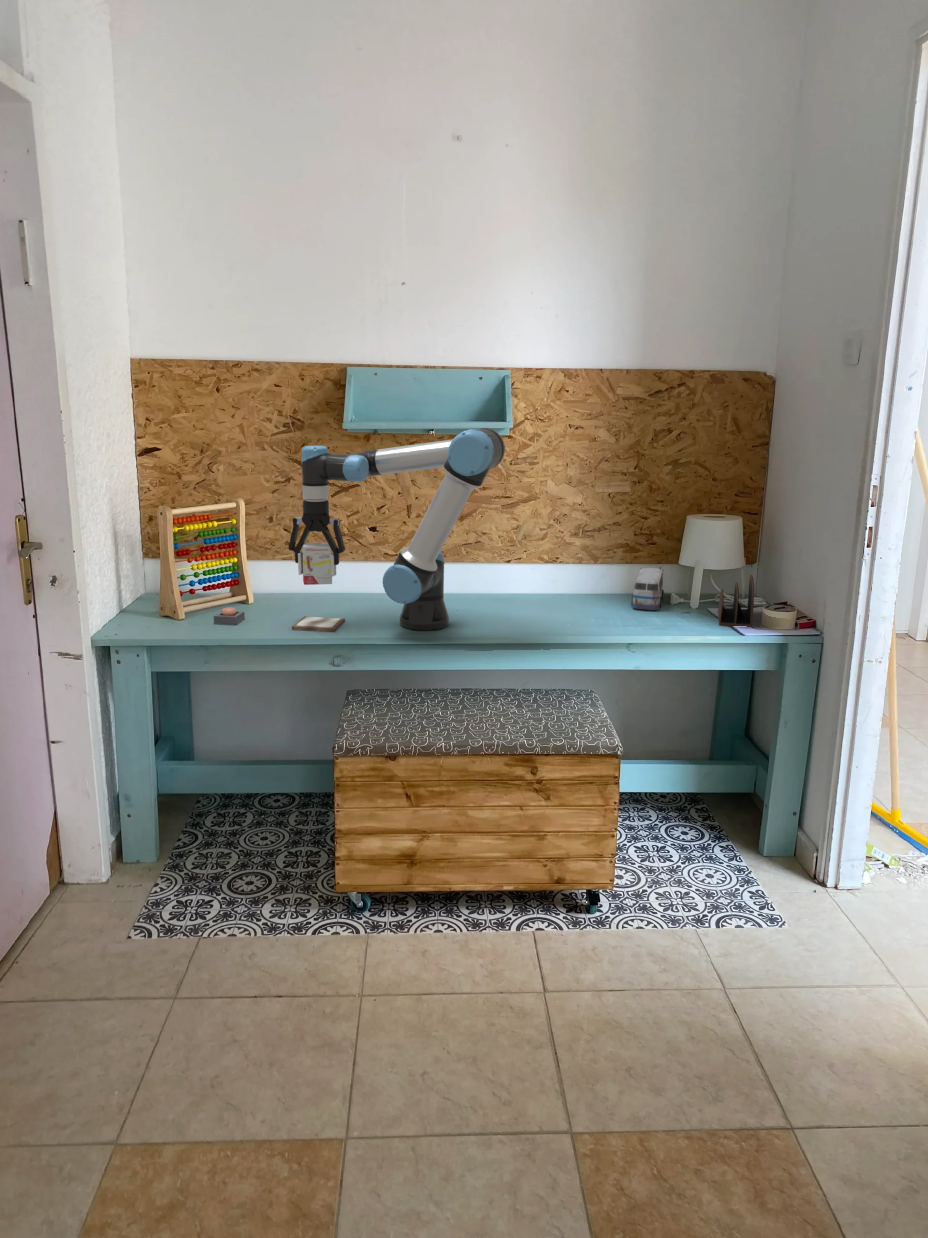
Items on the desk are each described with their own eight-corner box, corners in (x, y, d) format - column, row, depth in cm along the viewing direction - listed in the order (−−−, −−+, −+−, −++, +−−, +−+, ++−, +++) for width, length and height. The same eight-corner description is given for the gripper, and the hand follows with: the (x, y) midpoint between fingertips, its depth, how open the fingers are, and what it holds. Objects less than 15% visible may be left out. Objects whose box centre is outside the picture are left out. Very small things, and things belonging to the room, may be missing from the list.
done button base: (244, 619, 282) (244, 611, 281) (236, 625, 275) (235, 617, 275) (223, 618, 283) (222, 610, 282) (213, 623, 276) (213, 615, 276)
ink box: (303, 585, 270) (302, 545, 267) (303, 581, 275) (301, 542, 272) (332, 584, 271) (331, 545, 268) (331, 580, 276) (331, 542, 273)
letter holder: (749, 613, 300) (753, 571, 297) (752, 628, 282) (756, 584, 278) (717, 611, 303) (721, 569, 299) (718, 626, 284) (722, 582, 281)
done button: (237, 615, 280) (237, 607, 280) (232, 618, 277) (232, 610, 276) (225, 614, 281) (225, 607, 280) (220, 617, 277) (220, 610, 276)
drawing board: (345, 621, 281) (345, 617, 281) (334, 632, 270) (334, 628, 270) (304, 619, 283) (304, 615, 283) (291, 629, 272) (291, 625, 271)
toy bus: (664, 594, 324) (666, 567, 321) (660, 613, 299) (662, 583, 296) (636, 592, 326) (638, 565, 324) (629, 610, 301) (631, 581, 298)
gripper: (355, 499, 269) (356, 573, 274) (283, 496, 272) (286, 570, 277) (349, 502, 261) (350, 579, 267) (275, 499, 264) (277, 575, 270)
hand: (317, 574), depth 272 cm, fingers closed on ink box, 9 cm apart
